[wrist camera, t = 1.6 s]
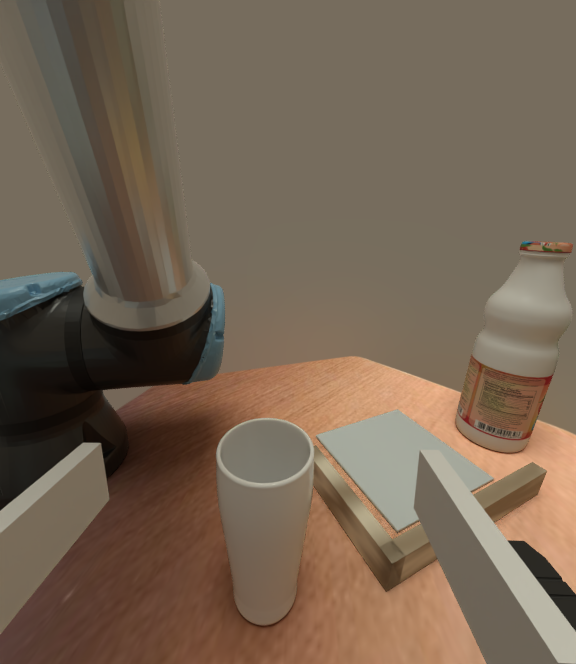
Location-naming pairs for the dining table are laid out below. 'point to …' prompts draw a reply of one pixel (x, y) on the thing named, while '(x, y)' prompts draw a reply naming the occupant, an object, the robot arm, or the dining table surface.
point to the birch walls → (413, 546)
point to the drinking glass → (264, 512)
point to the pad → (392, 462)
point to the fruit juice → (516, 350)
